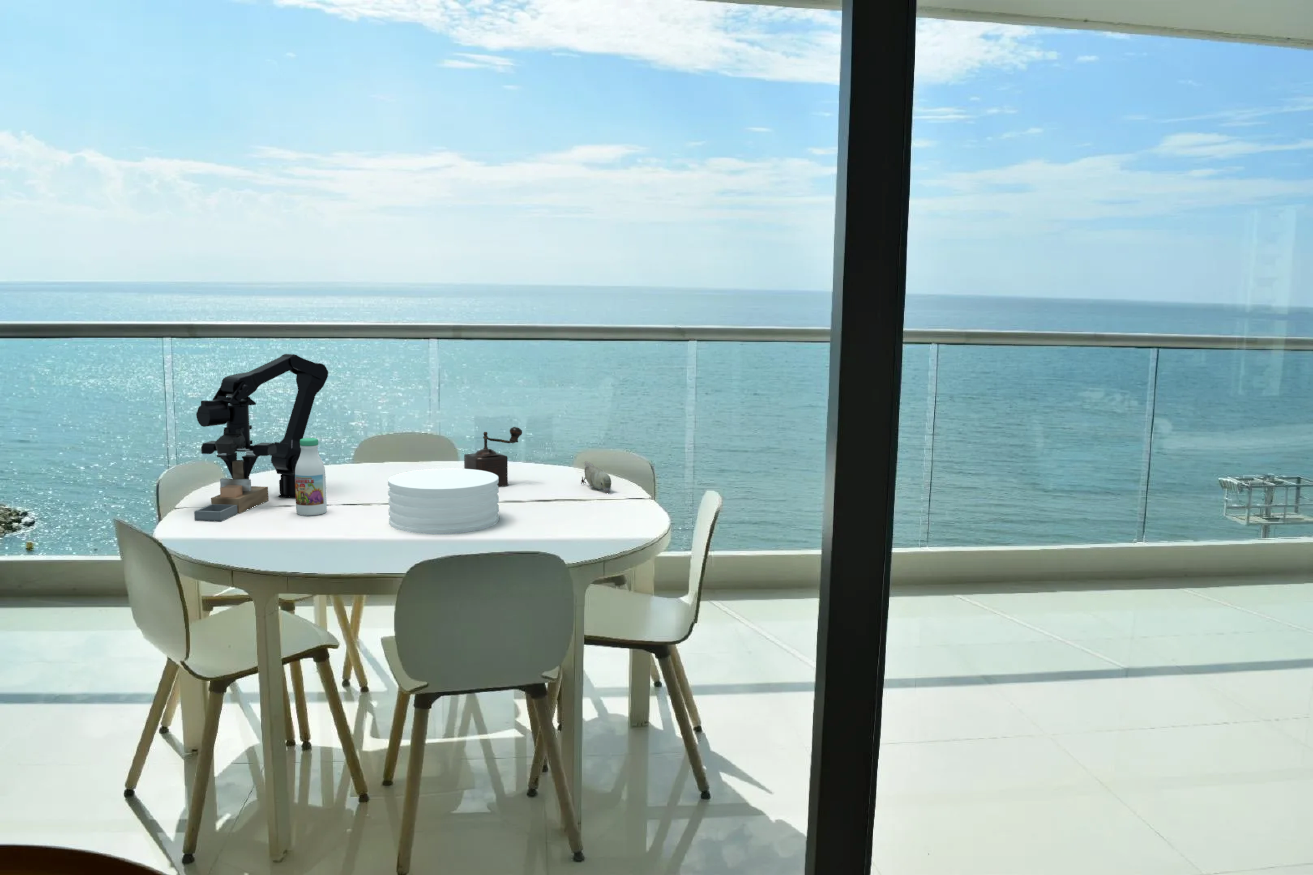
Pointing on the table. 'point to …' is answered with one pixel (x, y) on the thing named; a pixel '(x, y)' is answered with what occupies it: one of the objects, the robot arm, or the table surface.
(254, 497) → the walnut board
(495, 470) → the manual coffee grinder
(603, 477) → the decorative bird
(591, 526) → the table surface
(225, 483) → the grey block with post
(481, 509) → the plate stack
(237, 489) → the terracotta tile
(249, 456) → the robot arm
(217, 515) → the box
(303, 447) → the milk bottle
